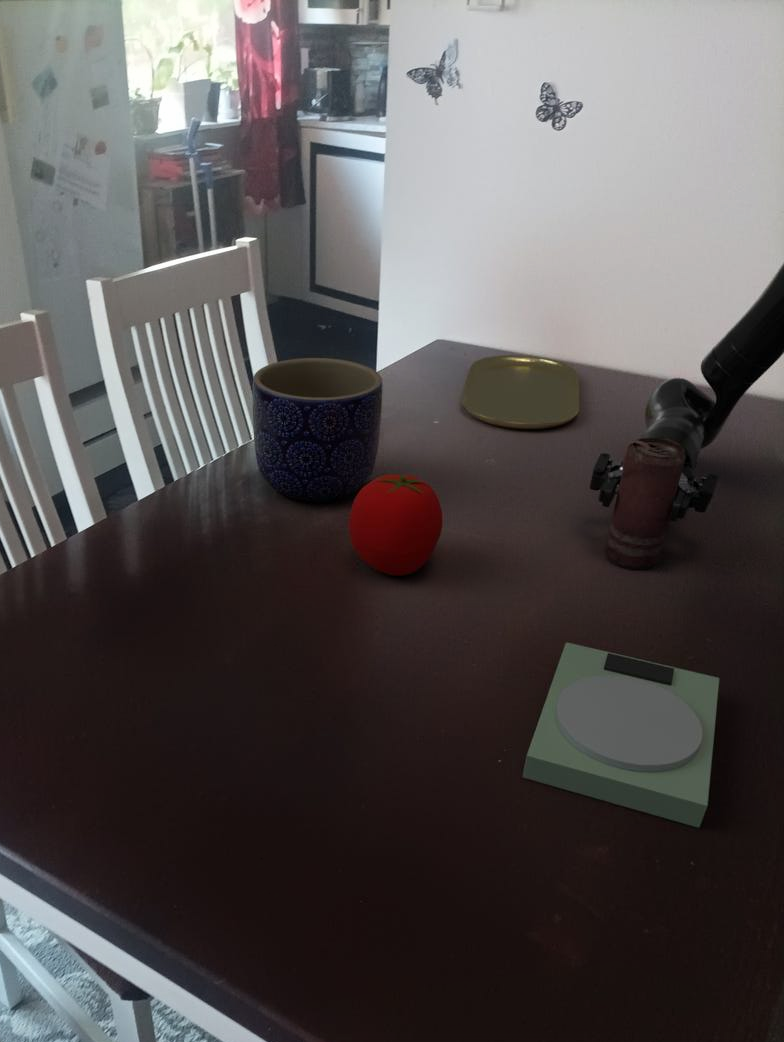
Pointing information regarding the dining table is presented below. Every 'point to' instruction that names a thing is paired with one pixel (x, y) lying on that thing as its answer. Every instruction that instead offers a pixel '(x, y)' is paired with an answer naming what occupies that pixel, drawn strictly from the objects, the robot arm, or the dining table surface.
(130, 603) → the dining table surface
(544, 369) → the serving platter
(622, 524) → the can
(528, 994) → the dining table surface
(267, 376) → the planter
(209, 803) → the dining table surface
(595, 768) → the scale
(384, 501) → the tomato
